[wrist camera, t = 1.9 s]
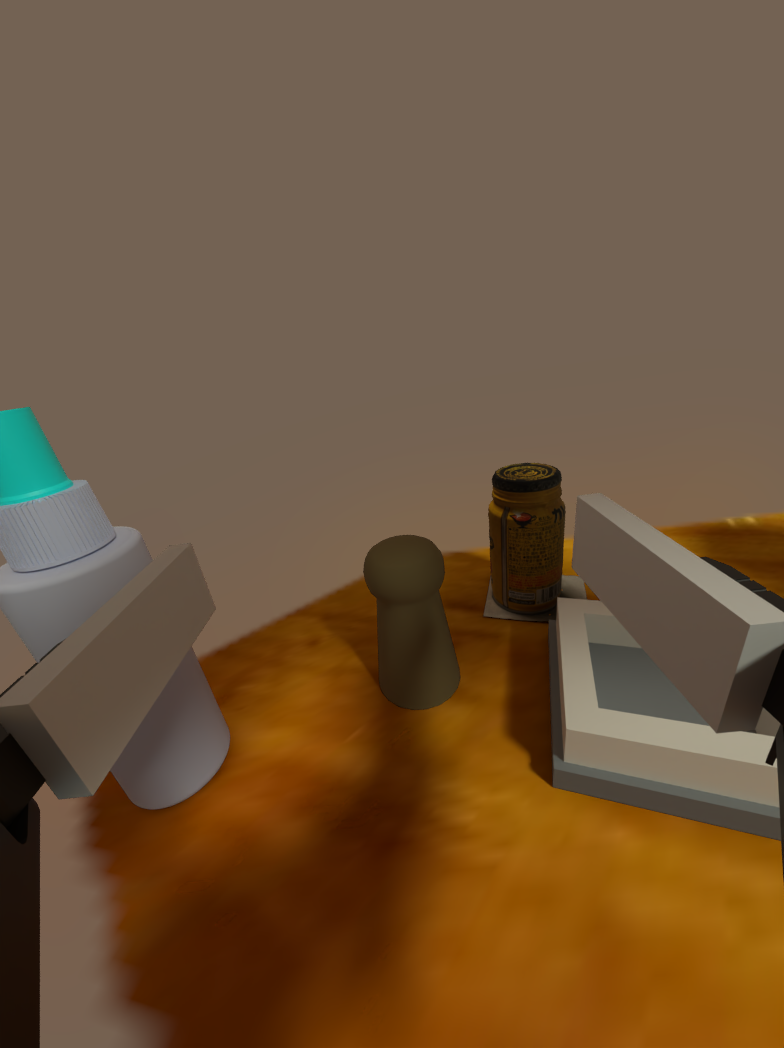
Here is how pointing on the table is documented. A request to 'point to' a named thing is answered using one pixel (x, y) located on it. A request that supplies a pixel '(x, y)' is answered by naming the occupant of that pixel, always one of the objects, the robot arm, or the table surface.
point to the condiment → (528, 544)
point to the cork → (411, 622)
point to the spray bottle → (94, 608)
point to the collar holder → (648, 732)
